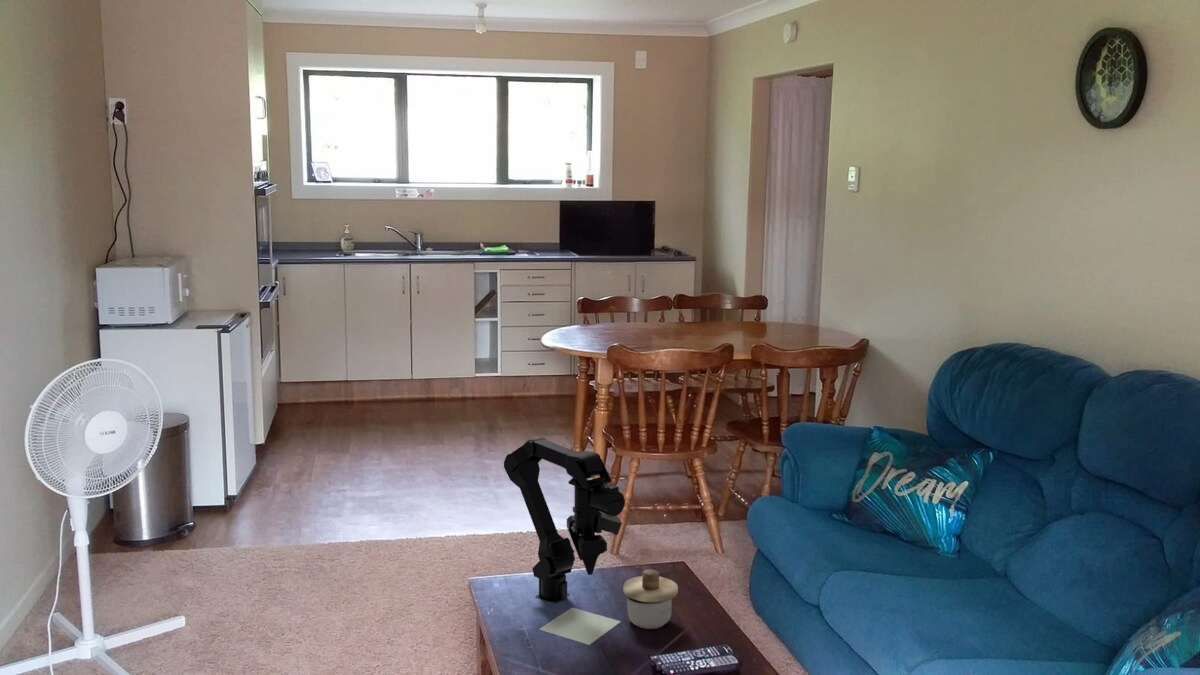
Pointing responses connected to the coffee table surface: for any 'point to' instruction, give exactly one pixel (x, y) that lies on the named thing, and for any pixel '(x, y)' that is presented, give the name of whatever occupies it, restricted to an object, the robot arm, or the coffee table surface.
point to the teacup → (649, 613)
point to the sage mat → (580, 626)
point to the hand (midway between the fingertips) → (586, 567)
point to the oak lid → (650, 587)
